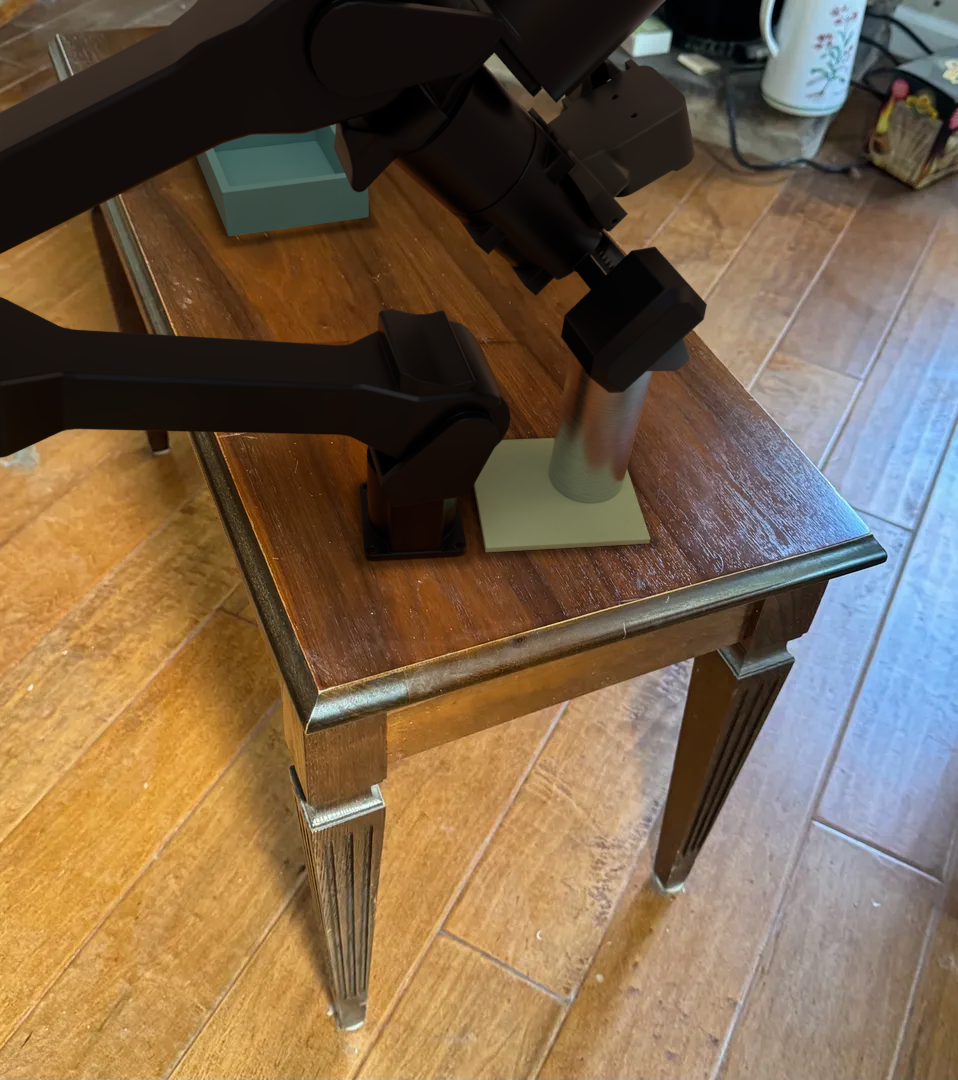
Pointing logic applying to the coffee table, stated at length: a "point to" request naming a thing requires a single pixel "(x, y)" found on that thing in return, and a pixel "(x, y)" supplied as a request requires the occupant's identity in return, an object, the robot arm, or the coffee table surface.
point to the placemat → (547, 505)
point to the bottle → (594, 436)
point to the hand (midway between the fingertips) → (644, 316)
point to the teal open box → (280, 182)
